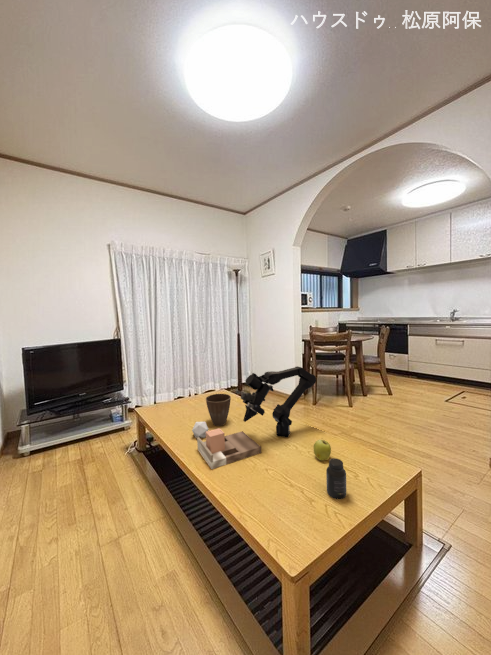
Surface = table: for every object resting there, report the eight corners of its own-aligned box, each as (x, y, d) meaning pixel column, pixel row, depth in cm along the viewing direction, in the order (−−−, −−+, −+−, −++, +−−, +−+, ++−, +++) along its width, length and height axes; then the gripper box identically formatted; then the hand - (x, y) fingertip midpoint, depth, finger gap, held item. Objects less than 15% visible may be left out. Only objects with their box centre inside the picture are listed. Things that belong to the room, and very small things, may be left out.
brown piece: (242, 436, 141) (242, 425, 141) (261, 452, 124) (260, 440, 124) (197, 449, 129) (197, 437, 129) (211, 469, 113) (210, 455, 112)
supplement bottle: (323, 488, 98) (323, 457, 98) (341, 486, 99) (340, 455, 98) (331, 501, 92) (330, 468, 91) (350, 499, 92) (349, 466, 91)
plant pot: (230, 428, 151) (229, 401, 150) (204, 429, 152) (203, 402, 151) (232, 418, 166) (231, 393, 165) (209, 418, 167) (207, 394, 166)
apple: (308, 456, 118) (312, 434, 119) (318, 455, 123) (321, 434, 124) (323, 464, 112) (326, 440, 113) (332, 462, 117) (336, 440, 118)
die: (201, 443, 137) (210, 426, 140) (187, 434, 138) (197, 417, 141) (203, 441, 145) (212, 425, 147) (190, 433, 146) (199, 417, 149)
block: (220, 444, 128) (219, 428, 127) (225, 449, 123) (224, 433, 122) (206, 448, 125) (205, 431, 124) (210, 453, 119) (210, 436, 119)
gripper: (243, 383, 142) (227, 408, 139) (253, 388, 125) (235, 417, 121) (259, 394, 145) (243, 419, 141) (272, 400, 127) (254, 430, 123)
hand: (244, 421), depth 132 cm, fingers closed
